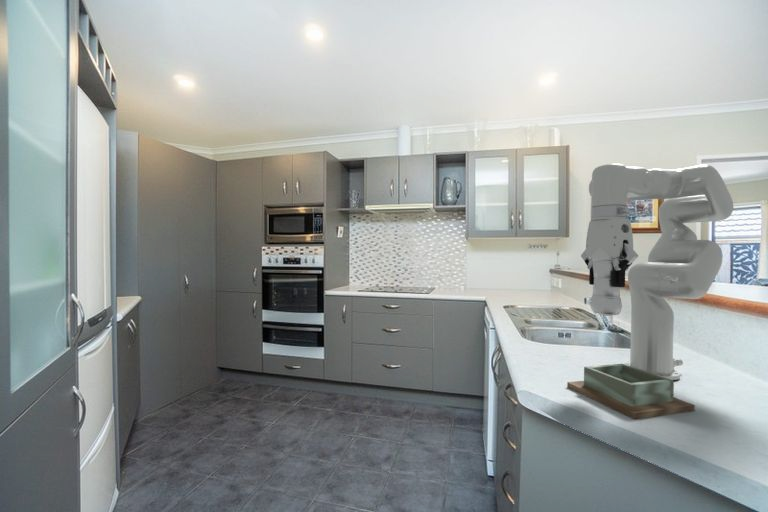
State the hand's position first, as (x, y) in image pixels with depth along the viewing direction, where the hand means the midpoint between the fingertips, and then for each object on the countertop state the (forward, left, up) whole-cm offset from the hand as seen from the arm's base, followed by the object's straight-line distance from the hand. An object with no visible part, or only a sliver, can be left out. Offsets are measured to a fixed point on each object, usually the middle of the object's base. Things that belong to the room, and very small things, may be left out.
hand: (606, 285), depth 85 cm
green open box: (+1, +7, -26) cm, 27 cm away
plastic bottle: (0, 0, -8) cm, 8 cm away
